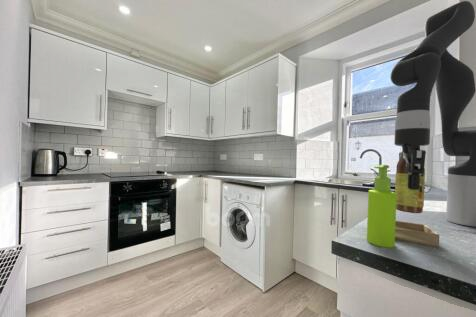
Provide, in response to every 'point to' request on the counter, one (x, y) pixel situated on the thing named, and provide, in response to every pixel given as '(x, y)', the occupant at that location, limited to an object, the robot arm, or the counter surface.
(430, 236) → the wooden stand
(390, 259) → the counter surface
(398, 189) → the sauce bottle
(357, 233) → the counter surface
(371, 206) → the soap dispenser
